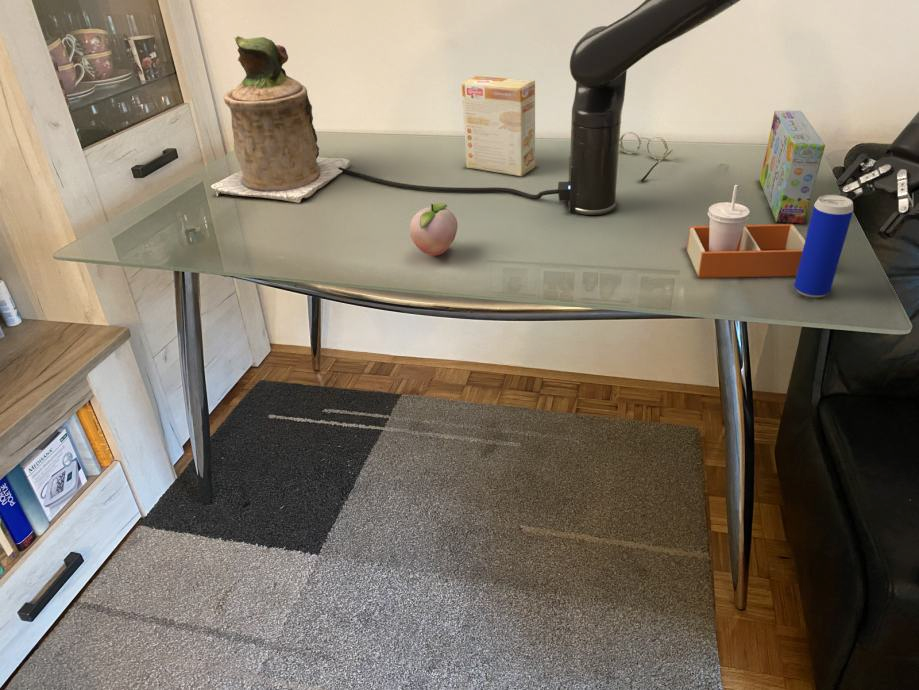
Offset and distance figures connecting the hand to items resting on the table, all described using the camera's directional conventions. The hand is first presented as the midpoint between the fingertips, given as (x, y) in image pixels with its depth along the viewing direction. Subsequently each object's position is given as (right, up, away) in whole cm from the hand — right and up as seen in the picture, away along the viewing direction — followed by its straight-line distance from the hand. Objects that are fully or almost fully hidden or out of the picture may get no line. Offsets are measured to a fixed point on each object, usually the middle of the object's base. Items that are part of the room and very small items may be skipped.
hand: (856, 226), depth 104 cm
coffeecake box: (-51, +23, +56) cm, 79 cm away
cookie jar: (-102, +21, +58) cm, 119 cm away
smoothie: (-16, -4, +13) cm, 21 cm away
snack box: (+3, +10, +32) cm, 34 cm away
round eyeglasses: (-22, +23, +53) cm, 62 cm away
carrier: (-12, -4, +12) cm, 18 cm away
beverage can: (-5, -10, +4) cm, 12 cm away
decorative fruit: (-65, -2, +21) cm, 68 cm away
